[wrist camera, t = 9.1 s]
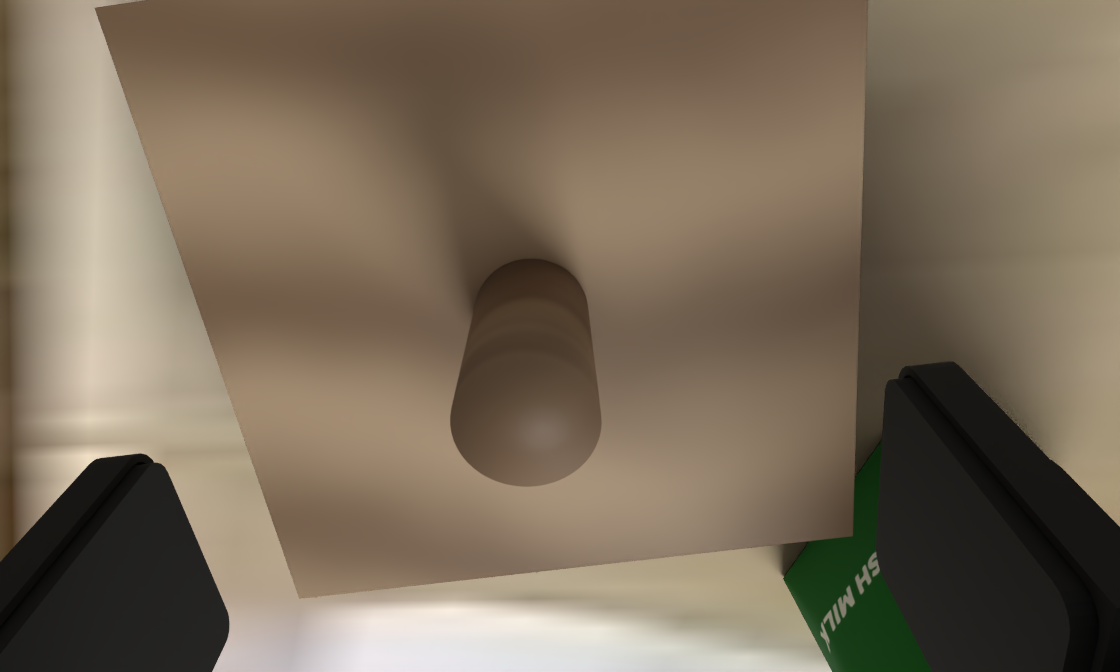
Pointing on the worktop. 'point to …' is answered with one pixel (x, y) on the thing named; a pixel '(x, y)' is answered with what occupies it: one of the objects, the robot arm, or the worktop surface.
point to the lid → (518, 269)
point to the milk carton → (854, 593)
